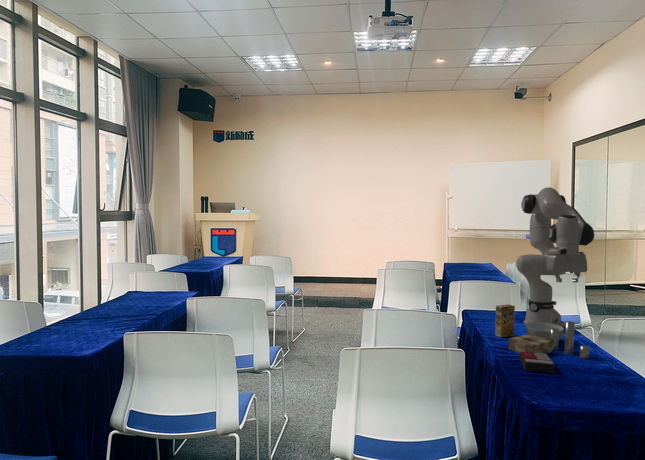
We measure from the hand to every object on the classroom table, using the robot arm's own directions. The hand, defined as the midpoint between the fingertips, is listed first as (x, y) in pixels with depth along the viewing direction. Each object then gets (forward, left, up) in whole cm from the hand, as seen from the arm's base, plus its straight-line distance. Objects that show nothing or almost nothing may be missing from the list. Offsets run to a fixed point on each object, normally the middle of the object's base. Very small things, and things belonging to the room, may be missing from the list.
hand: (567, 282), depth 205 cm
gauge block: (+11, -10, -32) cm, 35 cm away
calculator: (+26, +3, -33) cm, 41 cm away
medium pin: (-1, -6, -32) cm, 32 cm away
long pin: (-1, +1, -32) cm, 32 cm away
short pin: (-1, +8, -32) cm, 33 cm away
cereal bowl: (-9, -16, -32) cm, 37 cm away
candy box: (+1, -31, -32) cm, 44 cm away
